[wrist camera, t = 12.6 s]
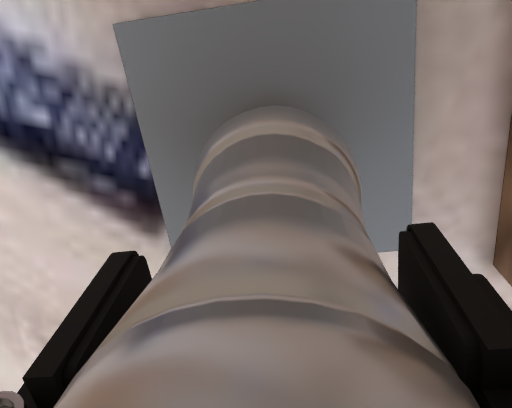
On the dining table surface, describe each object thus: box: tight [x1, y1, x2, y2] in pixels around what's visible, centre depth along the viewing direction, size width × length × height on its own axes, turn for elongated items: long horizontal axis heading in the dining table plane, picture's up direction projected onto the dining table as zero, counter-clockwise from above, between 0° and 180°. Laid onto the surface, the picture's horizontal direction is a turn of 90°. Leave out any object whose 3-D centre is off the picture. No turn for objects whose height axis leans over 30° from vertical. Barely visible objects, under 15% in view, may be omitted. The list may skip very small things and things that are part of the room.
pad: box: [113, 0, 417, 253], centre depth 21 cm, size 14×14×1 cm
